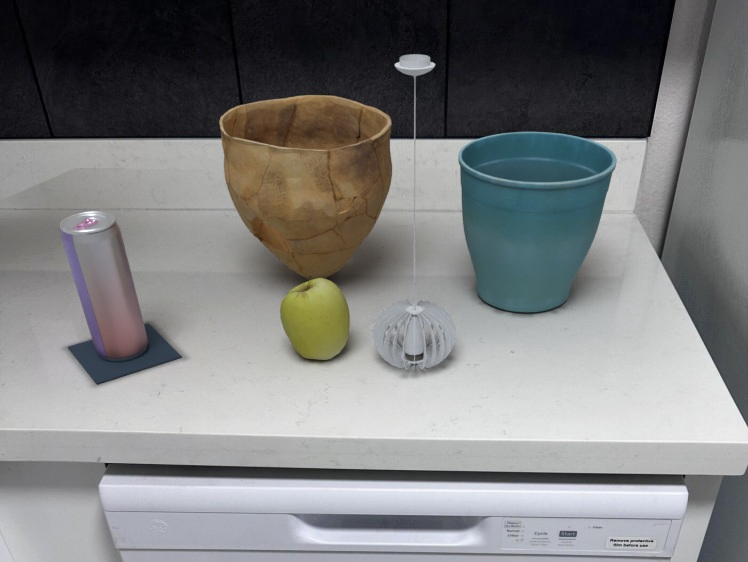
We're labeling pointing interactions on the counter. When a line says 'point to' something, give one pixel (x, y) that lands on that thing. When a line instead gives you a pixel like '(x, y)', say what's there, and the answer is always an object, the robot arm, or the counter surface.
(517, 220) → the flower pot
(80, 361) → the mat
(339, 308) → the apple
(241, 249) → the counter surface
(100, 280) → the beverage can
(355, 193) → the bowl
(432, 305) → the pendant light
